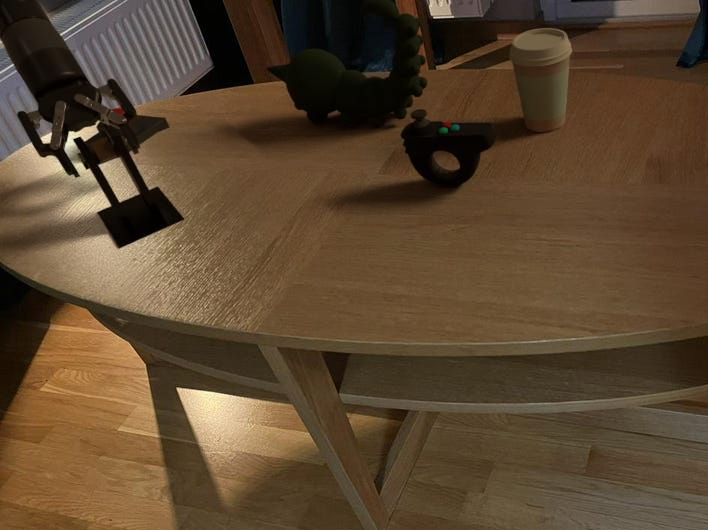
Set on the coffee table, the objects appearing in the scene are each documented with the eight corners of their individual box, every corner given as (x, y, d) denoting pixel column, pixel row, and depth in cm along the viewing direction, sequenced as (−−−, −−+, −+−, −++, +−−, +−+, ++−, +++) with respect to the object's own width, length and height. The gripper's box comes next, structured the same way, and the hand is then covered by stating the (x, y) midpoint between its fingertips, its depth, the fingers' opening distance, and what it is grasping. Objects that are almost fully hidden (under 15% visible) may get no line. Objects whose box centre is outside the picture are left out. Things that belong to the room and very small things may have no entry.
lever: (88, 173, 99) (78, 156, 98) (125, 157, 101) (116, 141, 100) (87, 166, 88) (76, 148, 87) (129, 149, 90) (119, 131, 89)
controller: (418, 174, 97) (403, 104, 90) (504, 175, 94) (496, 103, 87) (408, 191, 94) (392, 120, 87) (497, 192, 91) (488, 119, 84)
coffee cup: (586, 123, 101) (584, 37, 92) (535, 143, 99) (528, 57, 90) (554, 103, 107) (549, 21, 98) (505, 121, 104) (496, 39, 96)
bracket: (100, 219, 100) (50, 135, 91) (161, 193, 103) (118, 110, 94) (123, 254, 92) (70, 167, 83) (187, 225, 95) (143, 138, 86)
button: (118, 129, 112) (112, 119, 111) (102, 127, 114) (96, 117, 112) (134, 118, 114) (128, 108, 113) (118, 117, 116) (113, 107, 115)
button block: (124, 163, 111) (112, 139, 109) (85, 157, 115) (72, 135, 112) (171, 129, 118) (160, 107, 115) (132, 125, 122) (121, 103, 119)
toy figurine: (436, 113, 113) (291, 106, 117) (424, -13, 100) (261, -17, 104) (421, 142, 107) (268, 133, 111) (407, 11, 93) (233, 6, 97)
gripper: (-17, 66, 93) (49, 173, 93) (90, 30, 97) (152, 132, 98) (1, 93, 100) (63, 193, 100) (100, 59, 104) (158, 154, 105)
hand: (107, 163), depth 99 cm, fingers open, 8 cm apart
